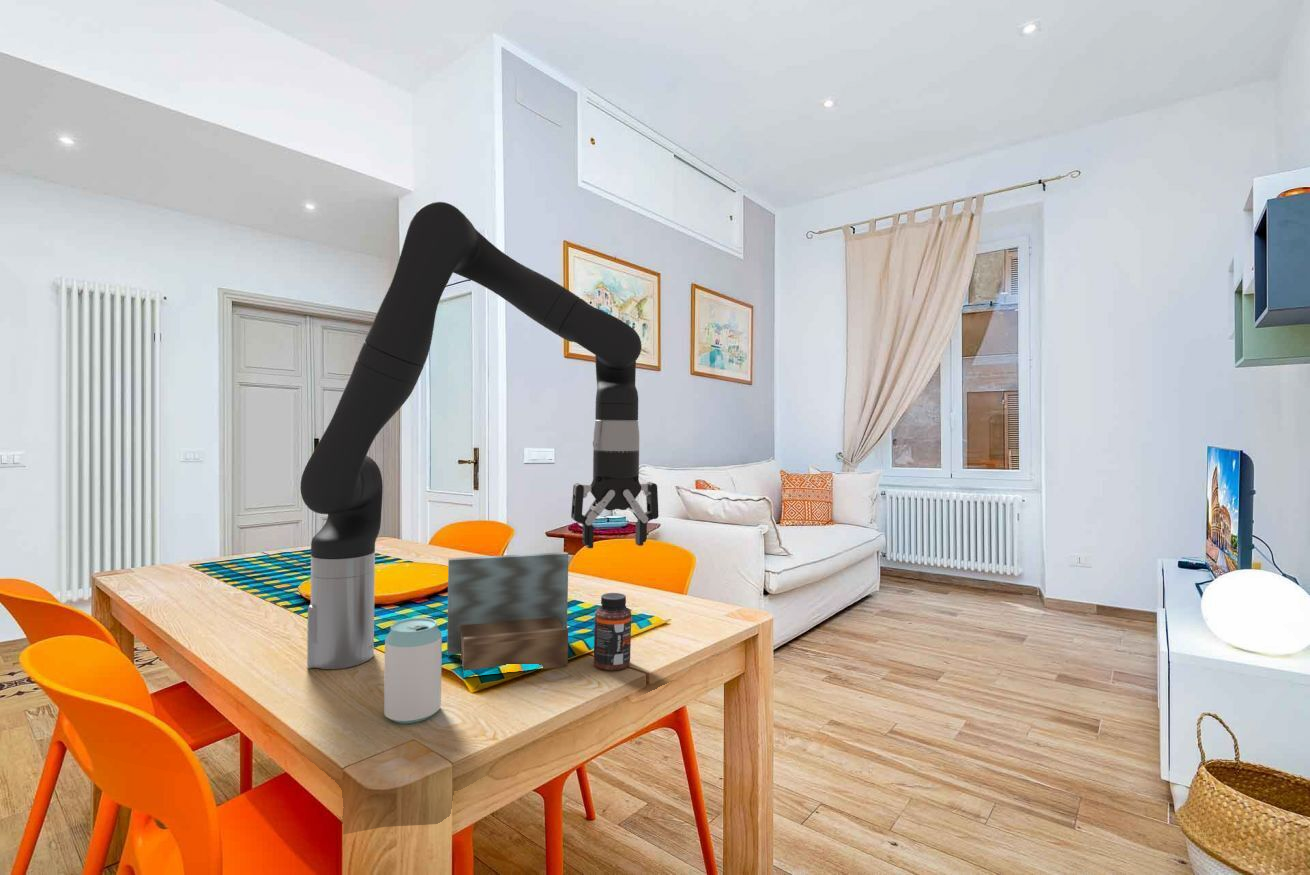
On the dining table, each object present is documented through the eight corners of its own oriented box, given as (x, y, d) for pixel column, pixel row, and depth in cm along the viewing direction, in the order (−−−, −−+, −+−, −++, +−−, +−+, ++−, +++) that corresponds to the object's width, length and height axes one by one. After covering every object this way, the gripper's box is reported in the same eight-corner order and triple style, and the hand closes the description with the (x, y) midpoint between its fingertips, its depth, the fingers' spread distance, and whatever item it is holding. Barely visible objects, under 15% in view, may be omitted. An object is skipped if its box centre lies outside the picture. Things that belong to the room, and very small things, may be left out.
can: (445, 700, 87) (447, 615, 86) (434, 725, 80) (435, 632, 79) (393, 702, 86) (394, 616, 85) (376, 727, 79) (377, 633, 78)
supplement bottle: (629, 672, 98) (630, 601, 97) (591, 671, 98) (592, 600, 97) (631, 658, 104) (632, 591, 103) (595, 657, 104) (597, 590, 103)
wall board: (449, 680, 93) (451, 574, 93) (447, 653, 104) (448, 558, 103) (579, 664, 100) (581, 566, 100) (564, 641, 111) (566, 552, 110)
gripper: (578, 449, 96) (577, 553, 96) (665, 449, 101) (663, 548, 101) (568, 447, 103) (567, 544, 103) (649, 447, 108) (648, 540, 108)
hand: (614, 546), depth 102 cm, fingers open, 8 cm apart
